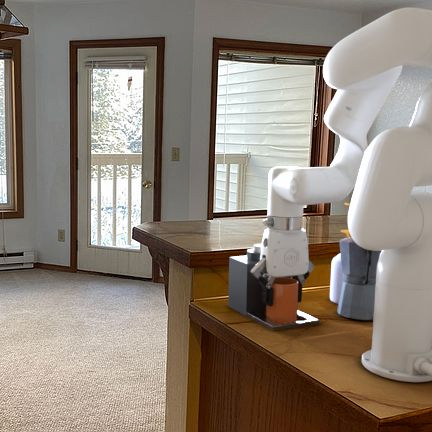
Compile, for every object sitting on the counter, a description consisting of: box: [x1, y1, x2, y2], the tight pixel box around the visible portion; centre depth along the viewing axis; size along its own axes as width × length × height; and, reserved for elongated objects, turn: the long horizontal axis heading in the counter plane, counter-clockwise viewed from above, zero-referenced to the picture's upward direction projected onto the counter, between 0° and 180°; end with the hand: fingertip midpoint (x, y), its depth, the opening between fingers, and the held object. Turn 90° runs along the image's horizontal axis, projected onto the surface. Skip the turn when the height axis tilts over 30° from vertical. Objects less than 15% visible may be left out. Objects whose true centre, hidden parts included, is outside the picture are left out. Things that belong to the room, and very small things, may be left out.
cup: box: [265, 277, 299, 324], centre depth 123 cm, size 7×7×9 cm
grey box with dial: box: [227, 248, 292, 317], centre depth 131 cm, size 8×12×14 cm, turn 112°
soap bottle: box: [329, 202, 351, 305], centre depth 136 cm, size 9×9×25 cm
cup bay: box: [245, 309, 320, 332], centre depth 124 cm, size 10×12×1 cm
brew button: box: [253, 243, 262, 253], centre depth 130 cm, size 3×3×2 cm
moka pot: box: [336, 237, 382, 321], centre depth 125 cm, size 10×15×20 cm, turn 174°
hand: (281, 301), depth 123 cm, fingers closed on cup, 6 cm apart
